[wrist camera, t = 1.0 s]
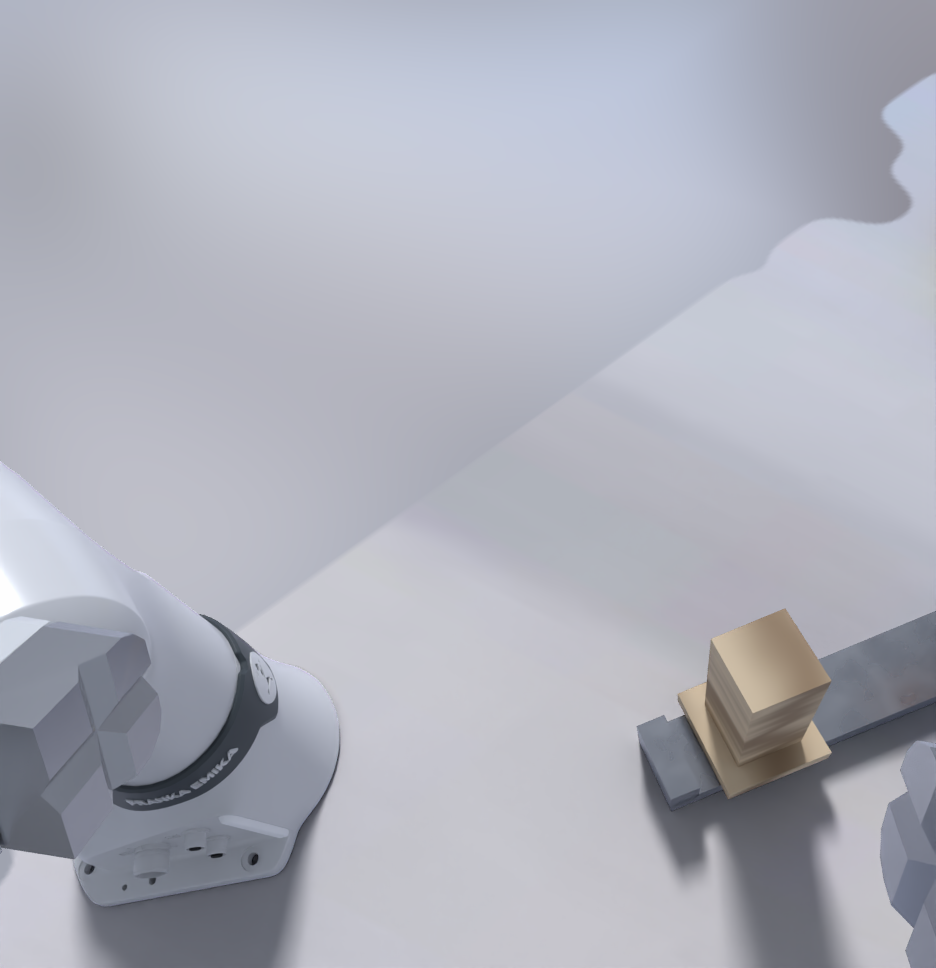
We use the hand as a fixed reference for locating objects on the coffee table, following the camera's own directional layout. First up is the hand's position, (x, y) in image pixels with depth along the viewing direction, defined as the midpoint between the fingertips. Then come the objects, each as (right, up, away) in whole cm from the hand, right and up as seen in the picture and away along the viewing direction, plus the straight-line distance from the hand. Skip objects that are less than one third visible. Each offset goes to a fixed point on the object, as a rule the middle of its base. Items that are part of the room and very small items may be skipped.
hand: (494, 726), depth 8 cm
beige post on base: (+19, -14, +44) cm, 50 cm away
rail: (+24, -13, +46) cm, 53 cm away
